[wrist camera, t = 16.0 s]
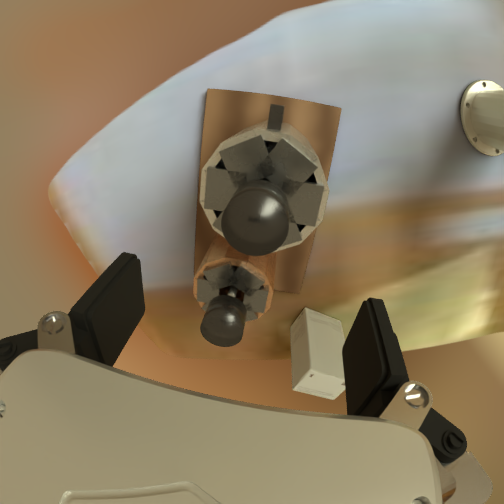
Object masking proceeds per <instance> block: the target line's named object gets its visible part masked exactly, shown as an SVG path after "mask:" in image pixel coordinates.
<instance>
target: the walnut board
mask: <svg viewBox="0 0 504 504" xmlns="http://www.w3.org/2000/svg"><path fill="white" fill-rule="evenodd" d="M271 104H276V105H283V106H285V109H284V116H283V123H288V124H290V125H291V126H293V127H294V128H295V129H297V130H298V131H299V132H300V133H301V134H303V135H304V136H305V137H306V138H307V139H308V141H309V143H310V144H311V146H312V148H313V149H314V151H315V153H316V155H317V156H318V158H319V161H320V164H321V166H322V169H323V172H324V175H325V178H326V181H327V180H328V175H329V171H330V166H331V161H332V156H333V151H334V146H335V141H336V136H337V130H338V125H339V120H340V114H341V108H338V107H334V106H329V105H324V104H320V103H315V102H310V101H304V100H299V99H293V98H287V97H281V96H274V95H267V94H260V93H252V92H242V91H232V90H220V89H208V90H207V98H206V107H205V116H204V126H203V136H202V147H201V158H200V170H199V184H198V199H197V215H196V235H195V260H194V276H195V274H196V272H197V270H198V268H199V266H200V264H201V263H202V261H203V259H204V257H205V255H206V253H207V251H208V249H209V247H210V245H211V243H212V241H213V239H214V237H215V236H216V235H217V232H216V231H215V230H214V229H213V228H212V226H211V224H210V222H209V220H208V218H207V216H206V214H205V212H204V210H203V208H202V205H201V203H200V186H201V173H202V169H203V167H204V166H205V164H206V163H207V162H208V160H209V159H210V157H211V156H212V155H213V153H214V152H215V151H216V149H217V148H218V147H219V145H220V144H221V143H222V142H223V141H225V140H227V139H228V138H230V137H232V136H233V135H235V134H237V133H238V132H240V131H242V130H244V129H245V128H247V127H250V126H253V125H255V124H257V123H260V122H263V121H266V120H268V118H269V111H270V105H271ZM316 228H317V227H316ZM316 228H315V229H314V230H313V232H312V233H311V234H310V235H309V236H308V237H307V238H306V239H305V240H304V241H303V242H302V243H301V244H299V245H296V246H293V247H289V248H286V249H283V250H280V251H277V257H276V269H275V280H274V290H278V291H284V292H290V293H296V294H300V290H301V287H302V283H303V279H304V275H305V272H306V268H307V264H308V260H309V256H310V252H311V248H312V244H313V240H314V236H315V232H316Z"/></svg>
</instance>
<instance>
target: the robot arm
mask: <svg viewBox="0 0 504 504" xmlns="http://www.w3.org/2000/svg"><path fill="white" fill-rule="evenodd" d="M460 113H461V121H462V126H463V129H464V132H465V134H466V136H467V138H468V140H469V141H470V143H471V144H472V146H473V147H475V148H476V149H477V150H478V151H480V152H481V153H483V154H486V155H489V156H498V155H501V154H502V153H504V90H503V89H502V88H501V87H500V86H499V85H498V84H496V83H494V82H492V81H489V80H478V81H475V82H473V83H471V84H470V85H469V86H468V87H467V89H466V90H465V92H464V94H463V97H462V101H461V111H460ZM144 312H145V303H144V294H143V285H142V275H141V264H140V259H138V258H137V256H136V255H135V254H130V253H126V252H123V253H121V254H120V256H119V257H118V258H117V259H116V260H115V261H114V262H113V263H112V264H111V265H110V266H109V267H108V268H107V269H106V270H105V271H104V272H103V274H102V275H101V276H100V277H99V278H98V279H97V280H96V281H95V282H94V283H93V284H92V286H91V287H90V288H89V289H88V290H87V291H86V292H85V293H84V295H83V296H82V297H81V298H80V299H79V300H78V301H77V303H76V304H75V305H74V306H73V307H72V308H71V311H70V312H69V314H66V313H64V312H61V311H53V312H50V313H47V314H46V315H44V316H43V317H42V318H41V319H40V321H39V323H38V329H36V330H32V331H29V332H25V333H21V334H18V335H14V336H10V337H6V338H4V339H1V340H0V504H484V503H485V502H486V501H487V500H488V498H489V497H490V495H491V493H492V489H493V486H492V482H491V480H490V478H489V477H488V475H487V474H486V472H485V471H484V469H483V468H482V467H481V465H480V464H479V462H478V461H477V460H476V458H475V457H474V455H473V454H472V453H471V452H469V453H467V451H466V448H467V441H466V437H465V435H464V434H463V432H462V431H460V429H458V428H457V427H456V426H454V425H453V424H452V423H451V422H449V421H448V420H446V419H445V418H444V417H443V416H442V415H440V414H439V413H438V412H436V411H435V410H434V409H433V408H431V405H432V402H433V400H432V395H431V393H430V391H429V389H428V388H427V387H426V386H425V385H423V384H421V383H419V382H416V381H409V378H408V374H407V370H406V366H405V363H404V359H403V356H402V352H401V349H400V346H399V342H398V339H397V336H396V334H395V333H394V332H393V329H392V326H391V323H390V320H389V317H388V314H387V311H386V308H385V305H384V302H383V300H382V299H375V298H369V299H368V300H367V301H363V303H362V305H361V308H360V310H359V312H358V314H357V317H356V319H355V321H354V323H353V326H352V328H351V330H350V332H349V334H348V336H347V339H346V341H345V343H344V345H343V348H342V358H343V368H344V378H345V389H346V402H347V415H340V414H329V413H319V412H309V411H300V410H292V409H284V408H277V407H270V406H264V405H258V404H252V403H247V402H241V401H236V400H231V399H226V398H221V397H216V396H212V395H208V394H203V393H199V392H195V391H191V390H187V389H183V388H179V387H176V386H172V385H168V384H164V383H161V382H158V381H154V380H151V379H148V378H144V377H141V376H138V375H135V374H132V373H129V372H126V371H123V370H120V369H117V368H114V367H113V365H114V363H115V362H116V360H117V358H118V356H119V355H120V353H121V351H122V349H123V348H124V346H125V345H126V343H127V341H128V339H129V338H130V336H131V335H132V333H133V331H134V330H135V328H136V326H137V325H138V323H139V321H140V320H141V318H142V317H143V315H144Z"/></svg>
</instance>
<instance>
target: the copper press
mask: <svg viewBox="0 0 504 504" xmlns="http://www.w3.org/2000/svg"><path fill="white" fill-rule="evenodd" d="M276 257H277V251H276V252H273V253H270V254H267V255H263V256H250V255H246V254H243V253H241V252H239V251H237V250H235V249H234V248H233V247H232V246H231V245H230V244H229V243H228V242H227V241H226V239H225V238H224V237H223V236H221V235H220V234H219V233H217V235H216V236H215V237H214V239H213V241H212V243H211V245H210V247H209V249H208V251H207V253H206V255H205V257H204V259H203V261H202V263H201V264H200V266H199V268H198V270H197V272H196V274H195V276H194V290H193V294H194V296H195V298H196V300H197V301H198V303H199V305H200V306H201V309H202V310H203V311H205V312H206V310H207V307H208V304H209V302H210V301H211V300H212V299H213V298H214V297H216V296H220V295H227V294H228V291H229V288H230V286H231V285H233V286H235V287H236V288H238V290H237V293H236V297H235V298H237V299H239V300H240V301H241V302H242V303H243V304H244V305H245V307H246V310H247V315H246V320H245V323H246V322H251V321H255V320H258V319H259V318H260V317H261V316H262V315H263V314H264V313H265V312H267V311H268V310H269V309H270V306H271V301H272V296H273V291H274V280H275V269H276ZM233 265H234V266H238V267H237V268H236V269H234V267H233Z"/></svg>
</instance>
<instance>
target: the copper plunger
mask: <svg viewBox="0 0 504 504" xmlns="http://www.w3.org/2000/svg"><path fill="white" fill-rule="evenodd" d="M233 267H234V269H236V268H237V267H238V266H234V265H233ZM237 290H238V288H236V287H235V286H233V285H231V286H230V288H229V291H228V294H227V295H220V296H216V297H214V298H213V299H212V300H211V301H210V302H209V304H208V307H207V310H206V313H205V315H204V318H203V321H202V323H201V327H200V330H201V333H202V335H203V337H204V338H205V339H206V340H207V341H209V342H210V343H212V344H214V345H217V346H222V347H229V346H233V345H236V344H237V343H239V342H240V341H241V339H242V335H243V330H244V325H245V320H246V315H247V310H246V307H245V305H244V304H243V303H242V302H241V301H240V300H239V299H237V298H235V297H236V293H237Z"/></svg>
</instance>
